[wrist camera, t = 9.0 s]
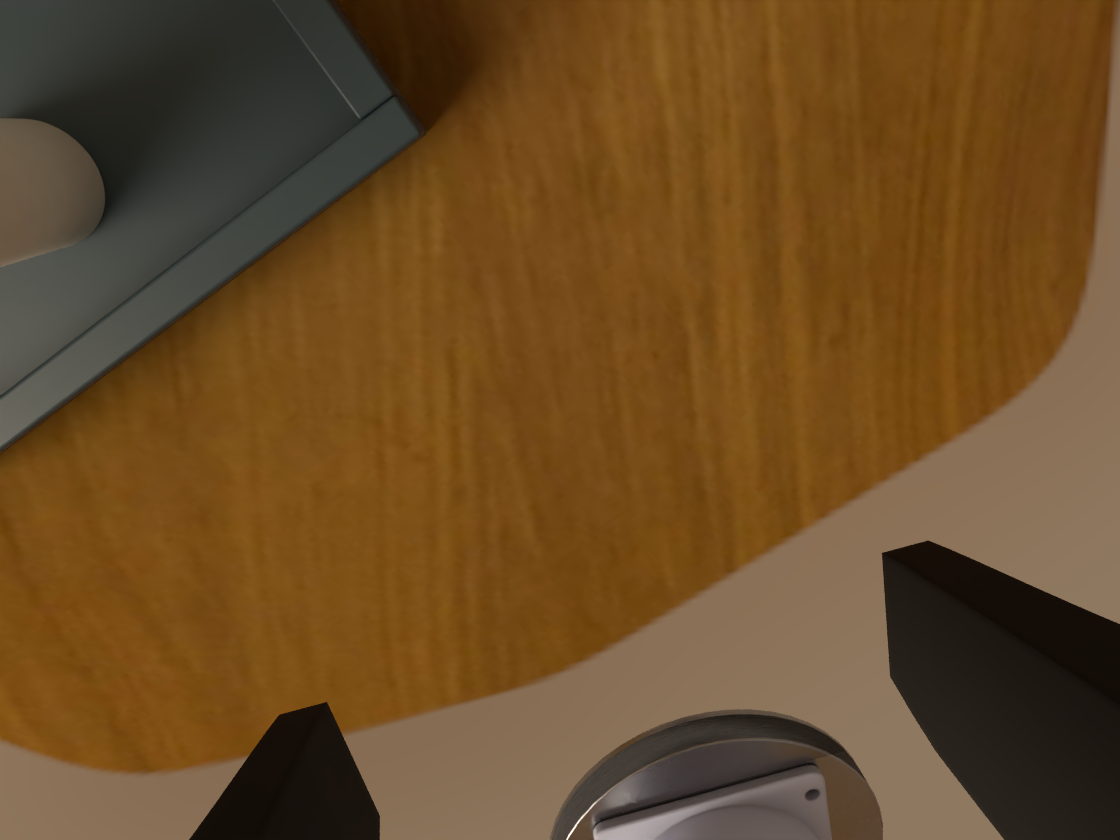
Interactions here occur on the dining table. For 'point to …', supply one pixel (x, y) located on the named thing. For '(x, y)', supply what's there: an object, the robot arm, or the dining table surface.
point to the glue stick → (44, 190)
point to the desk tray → (176, 164)
